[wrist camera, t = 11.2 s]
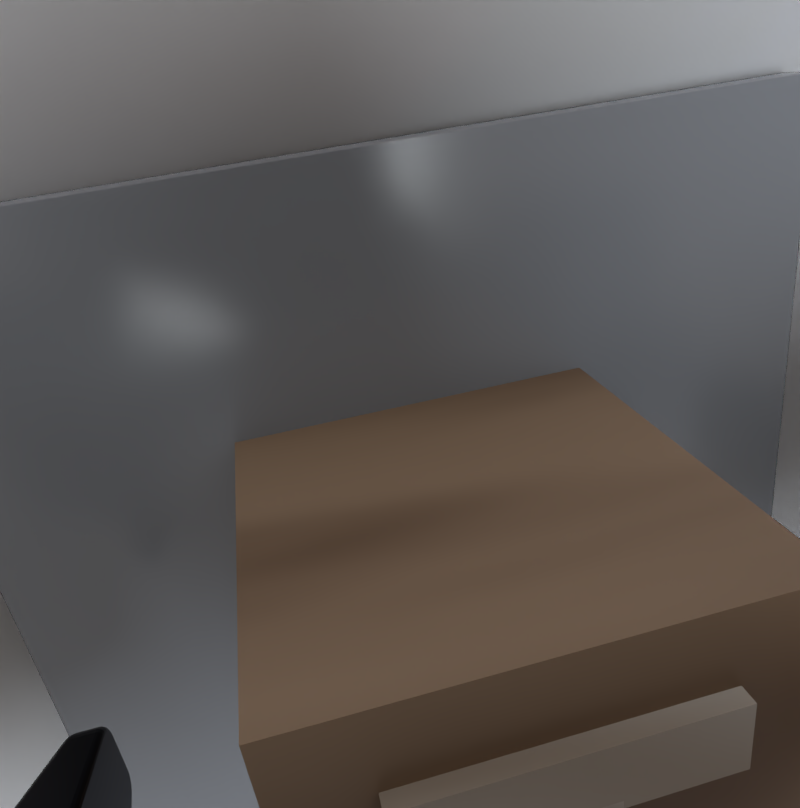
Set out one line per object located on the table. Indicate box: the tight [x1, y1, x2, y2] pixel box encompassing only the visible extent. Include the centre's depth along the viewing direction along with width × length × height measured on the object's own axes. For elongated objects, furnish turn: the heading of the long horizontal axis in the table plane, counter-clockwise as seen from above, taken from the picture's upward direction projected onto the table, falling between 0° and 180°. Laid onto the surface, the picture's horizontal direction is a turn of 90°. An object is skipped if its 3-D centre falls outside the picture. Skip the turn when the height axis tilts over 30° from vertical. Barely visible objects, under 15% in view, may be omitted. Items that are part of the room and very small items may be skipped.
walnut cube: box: [235, 368, 800, 808], centre depth 9 cm, size 5×5×5 cm
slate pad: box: [0, 72, 800, 808], centre depth 11 cm, size 12×12×1 cm
